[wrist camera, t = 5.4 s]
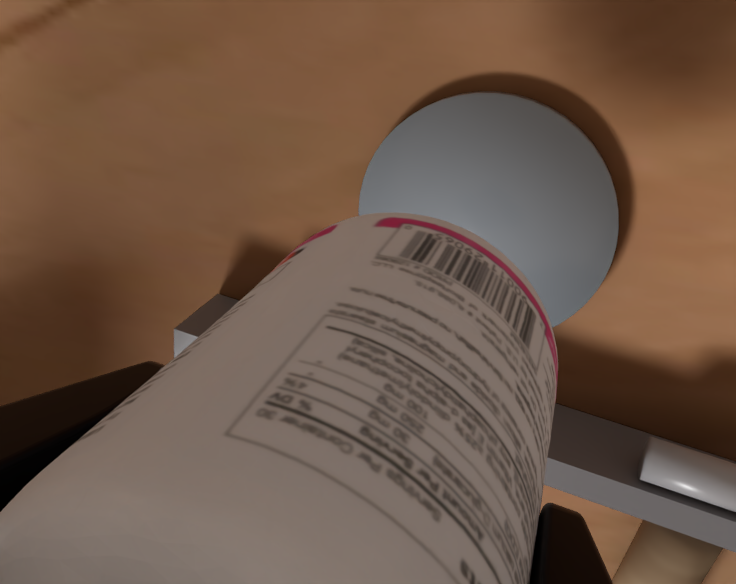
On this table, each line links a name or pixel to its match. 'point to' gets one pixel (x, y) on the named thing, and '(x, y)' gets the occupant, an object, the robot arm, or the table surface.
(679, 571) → the dowel
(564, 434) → the gray rectangular frame
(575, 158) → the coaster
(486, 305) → the pill bottle
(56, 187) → the table surface
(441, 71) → the table surface
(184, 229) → the table surface
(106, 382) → the robot arm
